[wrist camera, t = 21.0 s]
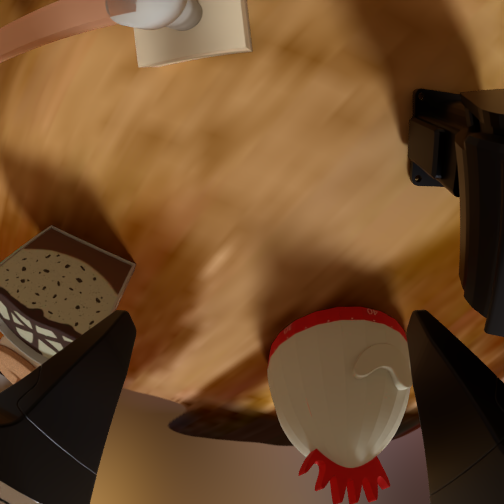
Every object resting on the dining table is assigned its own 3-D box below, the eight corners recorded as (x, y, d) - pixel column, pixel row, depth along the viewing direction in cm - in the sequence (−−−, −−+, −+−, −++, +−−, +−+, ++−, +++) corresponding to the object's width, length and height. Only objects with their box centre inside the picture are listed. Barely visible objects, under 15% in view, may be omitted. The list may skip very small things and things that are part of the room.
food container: (42, 267, 27) (-13, 331, 19) (40, 219, 24) (-30, 282, 16) (141, 316, 29) (100, 399, 20) (151, 270, 25) (99, 361, 17)
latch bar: (-22, 37, 9) (-42, 40, 8) (190, -38, 8) (176, -51, 7) (-22, 88, 11) (-43, 94, 10) (185, 35, 10) (170, 30, 9)
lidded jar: (92, 354, 34) (61, 412, 26) (64, 370, 39) (38, 417, 31) (30, 296, 30) (-12, 350, 22) (13, 323, 35) (-20, 367, 27)
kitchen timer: (354, 402, 33) (360, 516, 21) (249, 375, 32) (227, 507, 19) (432, 330, 26) (473, 470, 13) (312, 284, 24) (315, 473, 12)
